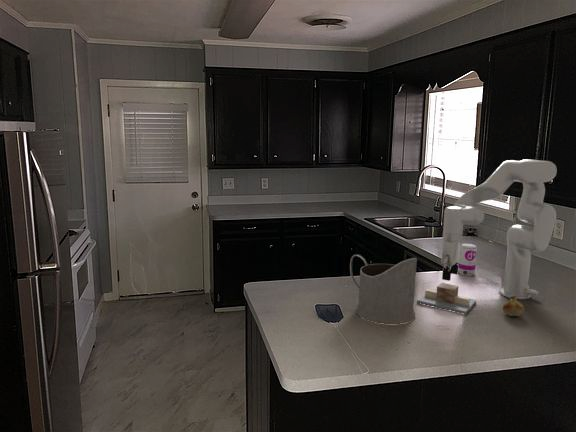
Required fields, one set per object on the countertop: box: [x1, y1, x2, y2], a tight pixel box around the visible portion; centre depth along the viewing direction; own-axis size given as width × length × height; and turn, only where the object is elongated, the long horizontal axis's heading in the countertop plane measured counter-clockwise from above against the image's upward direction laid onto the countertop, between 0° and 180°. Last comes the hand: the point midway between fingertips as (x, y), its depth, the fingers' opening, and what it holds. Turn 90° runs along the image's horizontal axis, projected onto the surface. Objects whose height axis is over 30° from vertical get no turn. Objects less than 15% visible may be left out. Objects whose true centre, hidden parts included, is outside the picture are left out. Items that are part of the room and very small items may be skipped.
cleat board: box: [416, 289, 477, 315], centre depth 199 cm, size 20×16×4 cm
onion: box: [502, 296, 525, 317], centre depth 187 cm, size 8×8×8 cm
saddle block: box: [436, 282, 459, 304], centre depth 199 cm, size 7×6×6 cm
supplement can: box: [458, 242, 478, 277], centre depth 240 cm, size 8×8×15 cm
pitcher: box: [349, 254, 418, 324], centre depth 189 cm, size 23×32×25 cm
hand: (449, 276), depth 198 cm, fingers open, 9 cm apart
